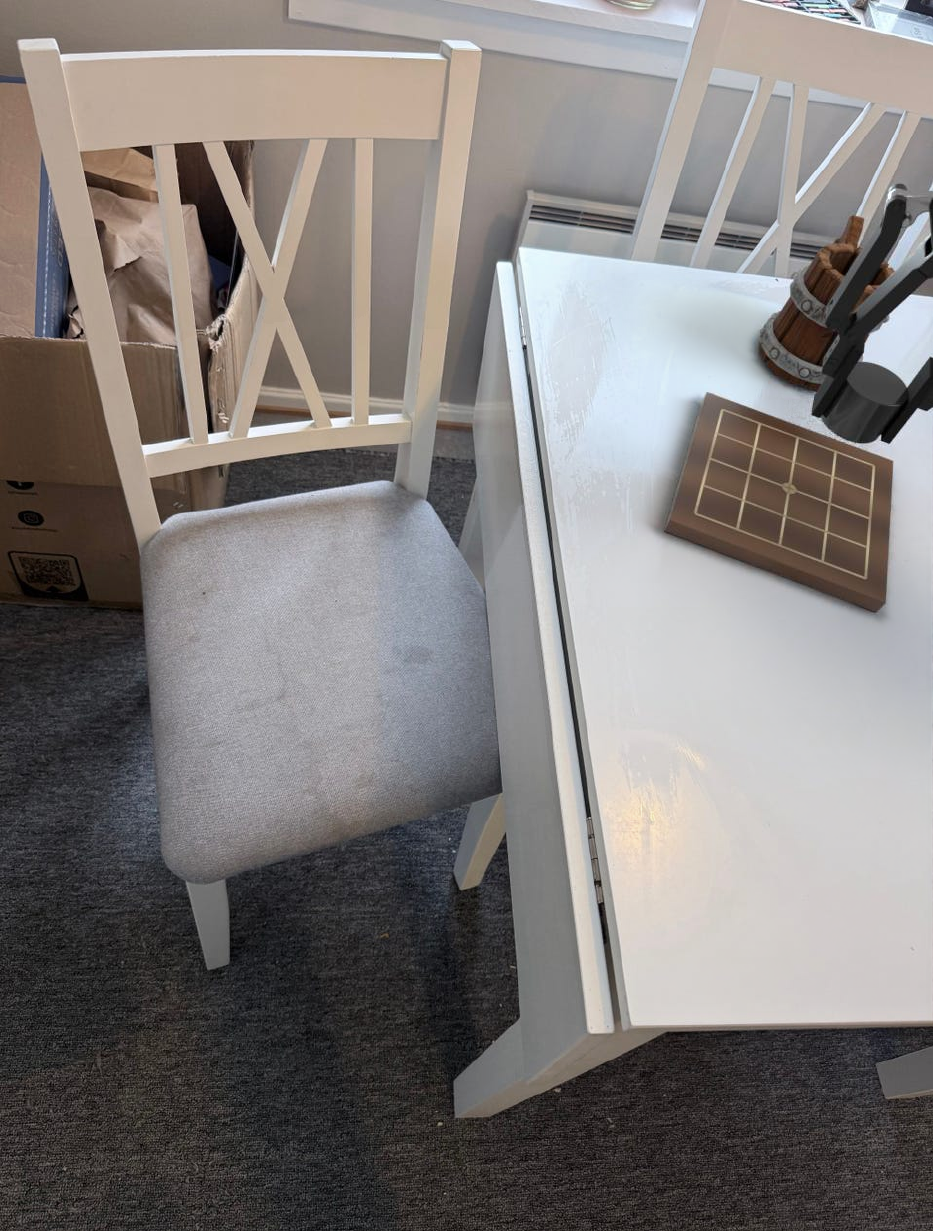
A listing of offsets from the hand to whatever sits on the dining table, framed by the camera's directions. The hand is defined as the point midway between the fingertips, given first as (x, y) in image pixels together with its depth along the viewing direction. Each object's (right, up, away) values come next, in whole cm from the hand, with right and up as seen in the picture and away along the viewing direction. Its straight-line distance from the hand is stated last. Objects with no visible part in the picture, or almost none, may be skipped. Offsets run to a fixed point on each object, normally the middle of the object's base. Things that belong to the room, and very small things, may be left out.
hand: (851, 419), depth 69 cm
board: (-1, -5, +12) cm, 13 cm away
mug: (+7, +14, +28) cm, 32 cm away
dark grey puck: (0, 0, 0) cm, 0 cm away
